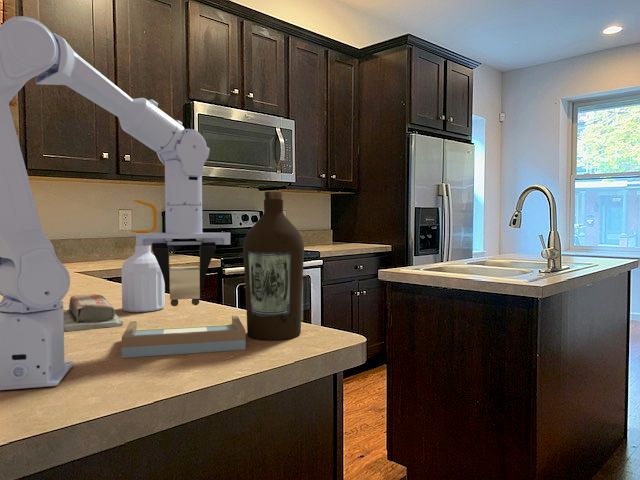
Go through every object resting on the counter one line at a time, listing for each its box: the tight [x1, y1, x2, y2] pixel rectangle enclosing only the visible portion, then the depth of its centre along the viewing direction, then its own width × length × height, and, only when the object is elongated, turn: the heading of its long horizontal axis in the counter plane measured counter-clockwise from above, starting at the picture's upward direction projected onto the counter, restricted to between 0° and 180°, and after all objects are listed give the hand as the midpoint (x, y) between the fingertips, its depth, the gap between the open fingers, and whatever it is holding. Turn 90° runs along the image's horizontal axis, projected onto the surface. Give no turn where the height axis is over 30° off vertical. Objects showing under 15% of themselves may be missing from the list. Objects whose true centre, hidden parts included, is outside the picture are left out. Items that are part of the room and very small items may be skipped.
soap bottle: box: [120, 199, 166, 313], centre depth 112 cm, size 9×9×25 cm
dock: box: [121, 315, 247, 359], centre depth 81 cm, size 12×18×3 cm, turn 105°
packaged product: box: [63, 293, 124, 332], centre depth 100 cm, size 18×5×10 cm
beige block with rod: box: [169, 265, 201, 307], centre depth 81 cm, size 8×4×6 cm, turn 15°
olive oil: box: [242, 191, 305, 341], centre depth 87 cm, size 11×11×25 cm
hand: (184, 289), depth 80 cm, fingers closed on beige block with rod, 4 cm apart
